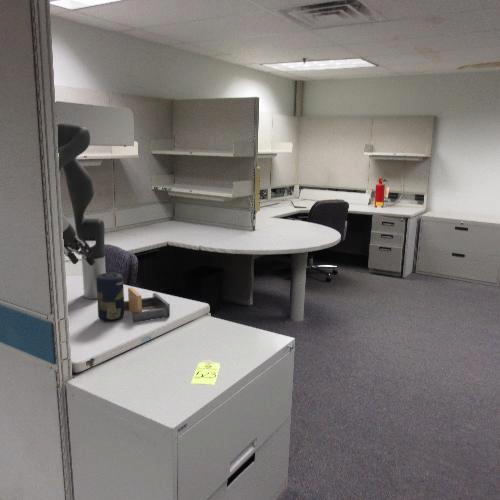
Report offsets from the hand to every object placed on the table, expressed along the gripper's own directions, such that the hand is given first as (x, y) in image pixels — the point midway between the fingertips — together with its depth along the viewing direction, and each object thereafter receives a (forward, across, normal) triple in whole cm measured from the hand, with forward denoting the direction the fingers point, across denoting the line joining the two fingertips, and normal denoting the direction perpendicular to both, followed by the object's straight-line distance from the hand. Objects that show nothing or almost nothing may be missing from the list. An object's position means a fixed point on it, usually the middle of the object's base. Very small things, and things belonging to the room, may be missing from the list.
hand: (84, 263), depth 166 cm
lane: (+32, -6, -5) cm, 32 cm away
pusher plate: (+29, -4, -3) cm, 29 cm away
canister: (+25, +1, +4) cm, 26 cm away
